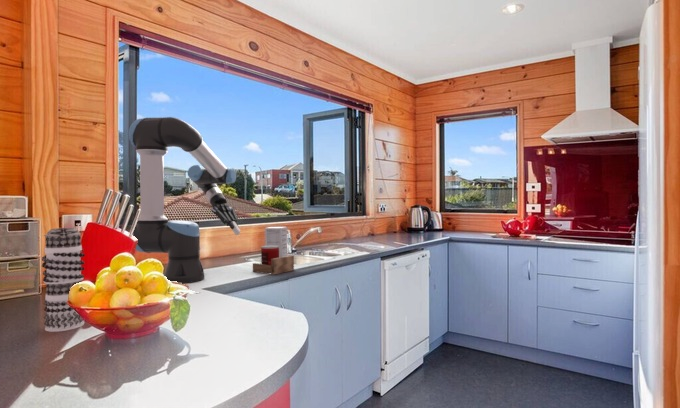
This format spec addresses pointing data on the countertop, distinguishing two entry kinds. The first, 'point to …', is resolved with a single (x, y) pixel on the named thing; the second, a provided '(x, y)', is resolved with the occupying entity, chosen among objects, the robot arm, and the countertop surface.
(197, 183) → the robot arm
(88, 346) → the countertop surface
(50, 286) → the decorative candle
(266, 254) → the canned food
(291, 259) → the dock
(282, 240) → the white canister
